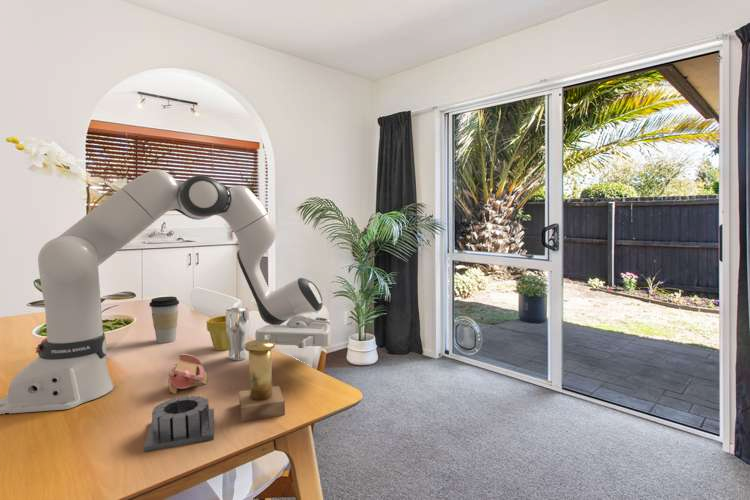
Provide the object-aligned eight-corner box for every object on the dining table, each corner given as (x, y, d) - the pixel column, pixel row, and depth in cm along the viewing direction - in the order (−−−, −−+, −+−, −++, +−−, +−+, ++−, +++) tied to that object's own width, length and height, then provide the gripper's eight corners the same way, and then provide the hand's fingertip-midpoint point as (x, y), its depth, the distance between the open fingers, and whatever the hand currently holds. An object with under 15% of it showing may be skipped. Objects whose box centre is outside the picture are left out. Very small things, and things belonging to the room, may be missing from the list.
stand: (241, 421, 89) (241, 407, 89) (239, 404, 97) (239, 391, 97) (284, 414, 92) (284, 401, 92) (279, 398, 100) (278, 385, 100)
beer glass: (243, 361, 126) (241, 312, 125) (222, 360, 127) (220, 311, 126) (254, 354, 133) (253, 307, 131) (234, 353, 134) (232, 306, 133)
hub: (143, 451, 78) (142, 425, 77) (153, 422, 89) (151, 399, 88) (213, 439, 82) (212, 414, 81) (214, 412, 93) (213, 390, 93)
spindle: (247, 404, 90) (245, 349, 89) (245, 392, 96) (243, 341, 95) (277, 399, 92) (276, 346, 92) (273, 388, 98) (272, 338, 98)
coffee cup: (172, 344, 143) (170, 301, 142) (145, 344, 143) (143, 301, 142) (185, 336, 153) (183, 296, 151) (159, 336, 153) (157, 296, 152)
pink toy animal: (155, 395, 103) (165, 359, 110) (194, 404, 109) (201, 370, 115) (171, 383, 99) (181, 346, 105) (211, 393, 104) (218, 357, 111)
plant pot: (200, 350, 137) (199, 320, 136) (223, 341, 146) (222, 314, 146) (225, 354, 133) (224, 323, 132) (247, 345, 142) (246, 316, 142)
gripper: (267, 317, 121) (243, 330, 107) (336, 319, 117) (321, 333, 104) (268, 339, 121) (244, 354, 108) (336, 341, 118) (321, 358, 104)
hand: (282, 344), depth 106 cm, fingers open, 8 cm apart
